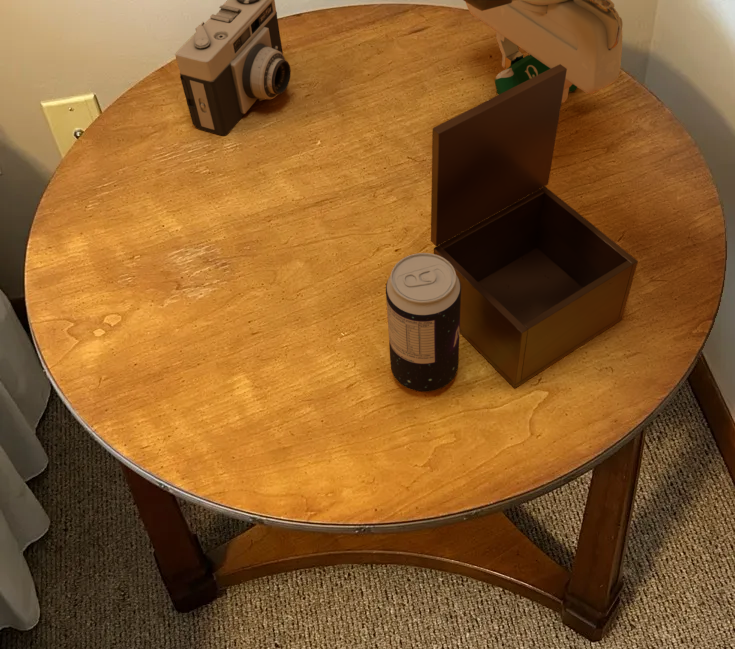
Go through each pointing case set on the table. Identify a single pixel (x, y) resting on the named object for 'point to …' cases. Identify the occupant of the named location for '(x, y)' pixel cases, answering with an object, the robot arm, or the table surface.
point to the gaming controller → (521, 74)
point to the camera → (232, 64)
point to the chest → (536, 284)
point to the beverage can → (423, 321)
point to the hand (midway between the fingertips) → (533, 83)
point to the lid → (494, 154)
